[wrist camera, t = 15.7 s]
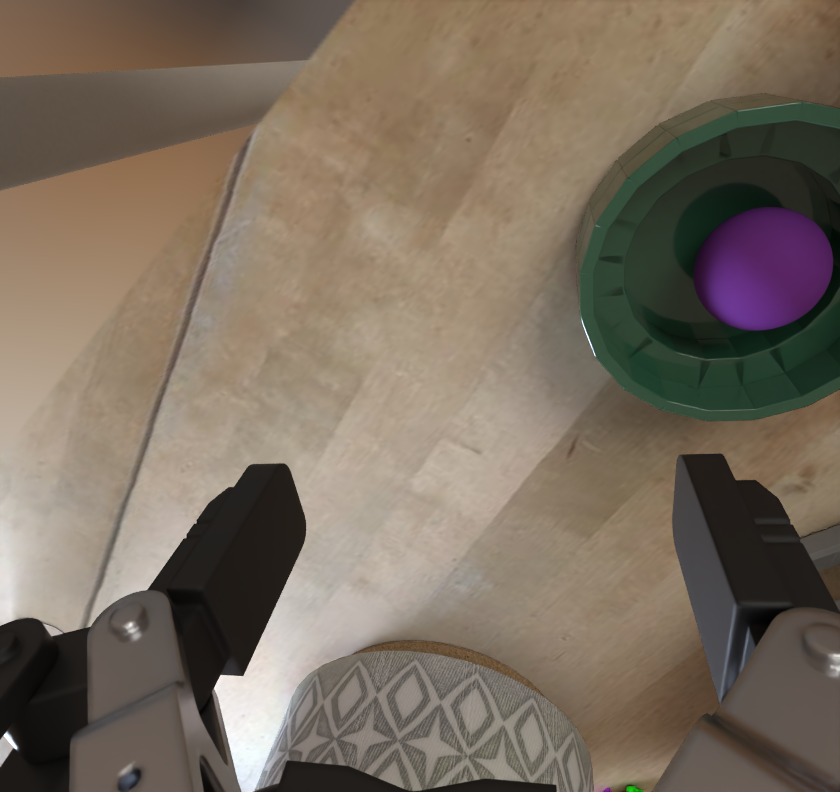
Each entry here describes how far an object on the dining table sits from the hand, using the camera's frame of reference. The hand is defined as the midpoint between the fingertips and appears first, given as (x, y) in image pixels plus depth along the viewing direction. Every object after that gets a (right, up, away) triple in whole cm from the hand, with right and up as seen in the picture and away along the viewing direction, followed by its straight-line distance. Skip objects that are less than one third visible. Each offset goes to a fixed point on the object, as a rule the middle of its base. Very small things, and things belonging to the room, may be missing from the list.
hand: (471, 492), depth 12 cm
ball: (+14, +7, +13) cm, 20 cm away
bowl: (+13, +9, +16) cm, 23 cm away
